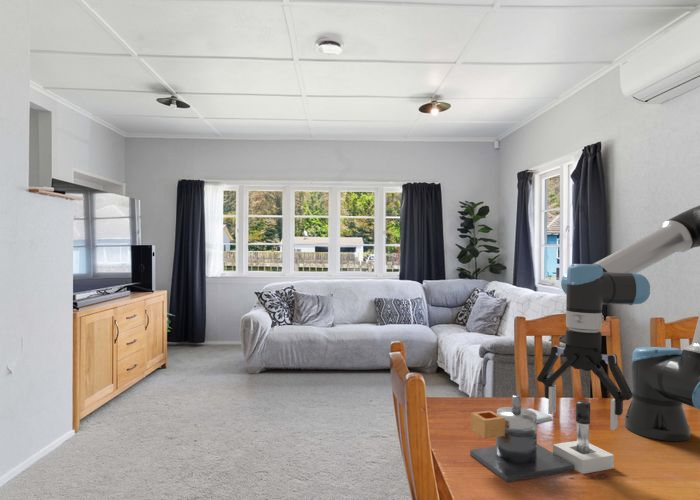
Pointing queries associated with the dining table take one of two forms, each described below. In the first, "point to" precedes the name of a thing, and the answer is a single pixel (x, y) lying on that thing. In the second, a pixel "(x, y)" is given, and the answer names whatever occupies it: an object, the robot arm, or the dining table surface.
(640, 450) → the dining table surface
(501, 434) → the grey and tan piece
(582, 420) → the black and grey rod
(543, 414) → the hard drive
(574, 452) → the white flat square block
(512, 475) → the dark square base plate
